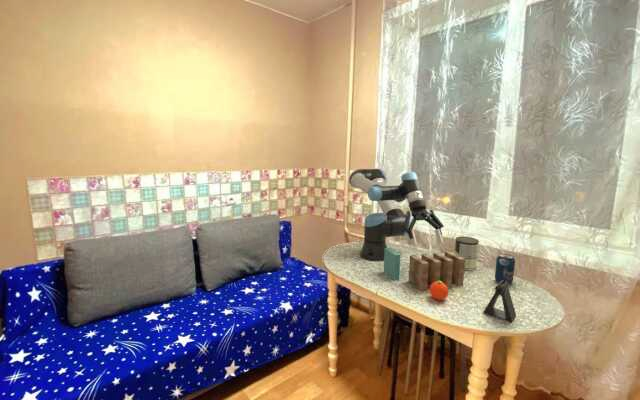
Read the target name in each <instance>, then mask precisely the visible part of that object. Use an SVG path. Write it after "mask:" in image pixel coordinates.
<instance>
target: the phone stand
mask: <svg viewBox="0 0 640 400" xmlns="http://www.w3.org/2000/svg"><path fill="white" fill-rule="evenodd" d="M503 281H504V280H501V281H500V283H499V282H498V284H497V285H496V286H495V288H494V289H495V292H494V294H493V296H492V297H491V298H490V300H489V302H488V303H487V305H486V307H485V308H484V310H483V314H485V315H487V316H490V317H493V318H497V319H500V320H502V319H503V321H505V320H506V322H508V321H509V322H508V323H513V321H514V319H515V318H516V316H517V313H516V310H515V307H514V303H513V300H512V296H511V292H510V284H509V282H508V281H506V282H505V283H504V284H502V282H503ZM499 297H501V300H502V305H503V309H504V310H502V309H499V308H496V307H495V306H496V304H497V301H498V299H499Z"/></svg>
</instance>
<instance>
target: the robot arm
mask: <svg viewBox="0 0 640 400" xmlns="http://www.w3.org/2000/svg"><path fill="white" fill-rule="evenodd" d="M400 177H401V183H400V184H399V185H386V184H387V181H388V180H387V174H386V172H385V171H384V170H383V169H381V168H363V169H362V168H359V169H356V170H354V171H352V172H351V173H350V175H349V178H348V181H349V184H350V186H351V187H352V188H354V189H359V190H361V191H362V192H363V193H366V195H367V197H368V199H369V201H371V202H377V203H378V205H379V207H380V209H381V212H374V213H369V214H368V215H366V216H365V218H364V223H363V225H364V227H363V228H364V230H363V231H364V234H363V235H364V237H363V241H364V242H363V245H362V247H361V250H360V257H361V258H363V259H364V260H367V261H374V262H375V261H377V262H378V261H384V252H385V248H388V247H387V238H392V237H404V236H408V237H409V240H411V245H412V247H415V246H417V245H418V242H417V238H416V235H415V231H414V230H413V229H414V227H415V224H416V223H417V221H424V222H427V224H429V225H430V226H431V227H432V228H433V229H435V230H434V233H435V236H436V239H437V242H438V244H440V245H441V244H442V243H444V240H443V237H442V236H443V232H442V228H444V224H443V223H442V221H441V220H440V219H439V218H438V216H436V214H435V211H434V210H433V209H430V210H427V205H426V201H425V200H424V196H423V192H422V188H421V185H420V182H419V178H418V176H417V173H416V172H413V171H408V172H405V173H403V174H402V175H401V176H400ZM405 200H407V203H408V207H409V210H407V211H405V212H404V211H403V210H402V209H401V208H399V207H398V206H397V204H396V203H401V202H404V201H405ZM395 202H396V203H395ZM412 217H413V218H412Z"/></svg>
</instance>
